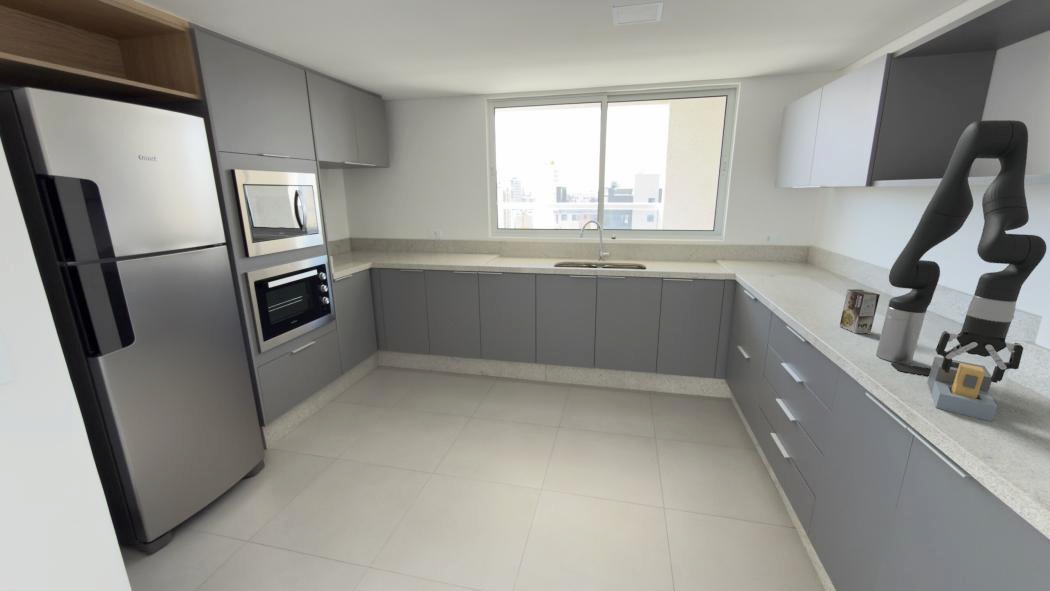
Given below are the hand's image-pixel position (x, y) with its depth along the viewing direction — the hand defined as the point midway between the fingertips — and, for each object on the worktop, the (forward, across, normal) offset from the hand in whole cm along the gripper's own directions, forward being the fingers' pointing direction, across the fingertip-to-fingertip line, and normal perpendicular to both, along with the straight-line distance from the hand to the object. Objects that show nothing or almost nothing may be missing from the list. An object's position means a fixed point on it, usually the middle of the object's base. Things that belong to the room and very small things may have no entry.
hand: (969, 376), depth 106 cm
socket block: (+8, 0, -5) cm, 10 cm away
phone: (+9, +5, -24) cm, 26 cm away
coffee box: (+9, +23, -61) cm, 66 cm away
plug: (+8, 0, 0) cm, 8 cm away
